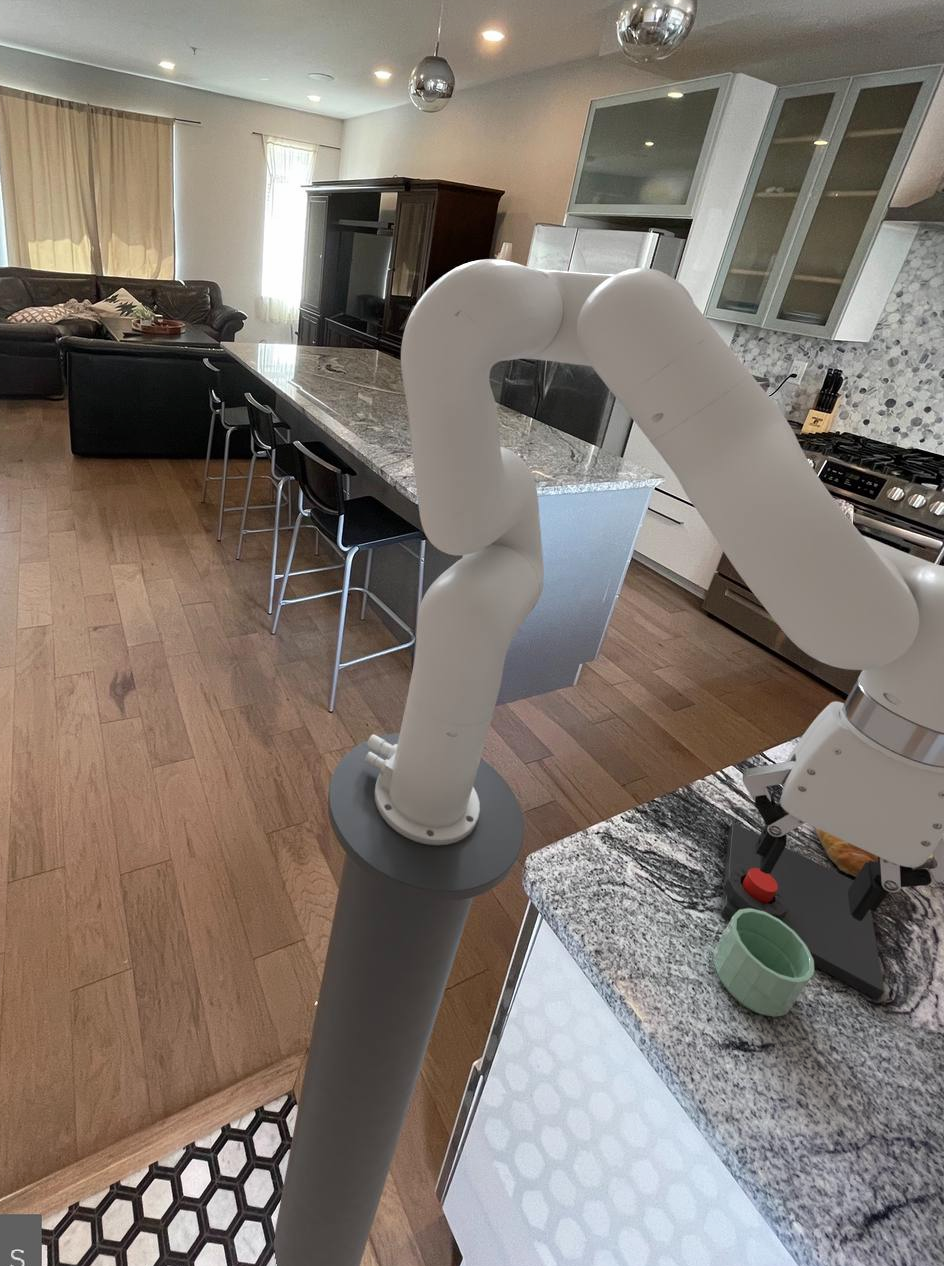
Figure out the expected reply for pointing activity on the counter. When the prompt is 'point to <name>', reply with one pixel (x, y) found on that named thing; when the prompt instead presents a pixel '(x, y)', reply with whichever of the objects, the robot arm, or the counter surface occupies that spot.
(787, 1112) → the counter surface
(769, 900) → the button
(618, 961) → the counter surface
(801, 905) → the scale
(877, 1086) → the counter surface
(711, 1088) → the counter surface
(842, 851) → the pastry
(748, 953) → the bowl
